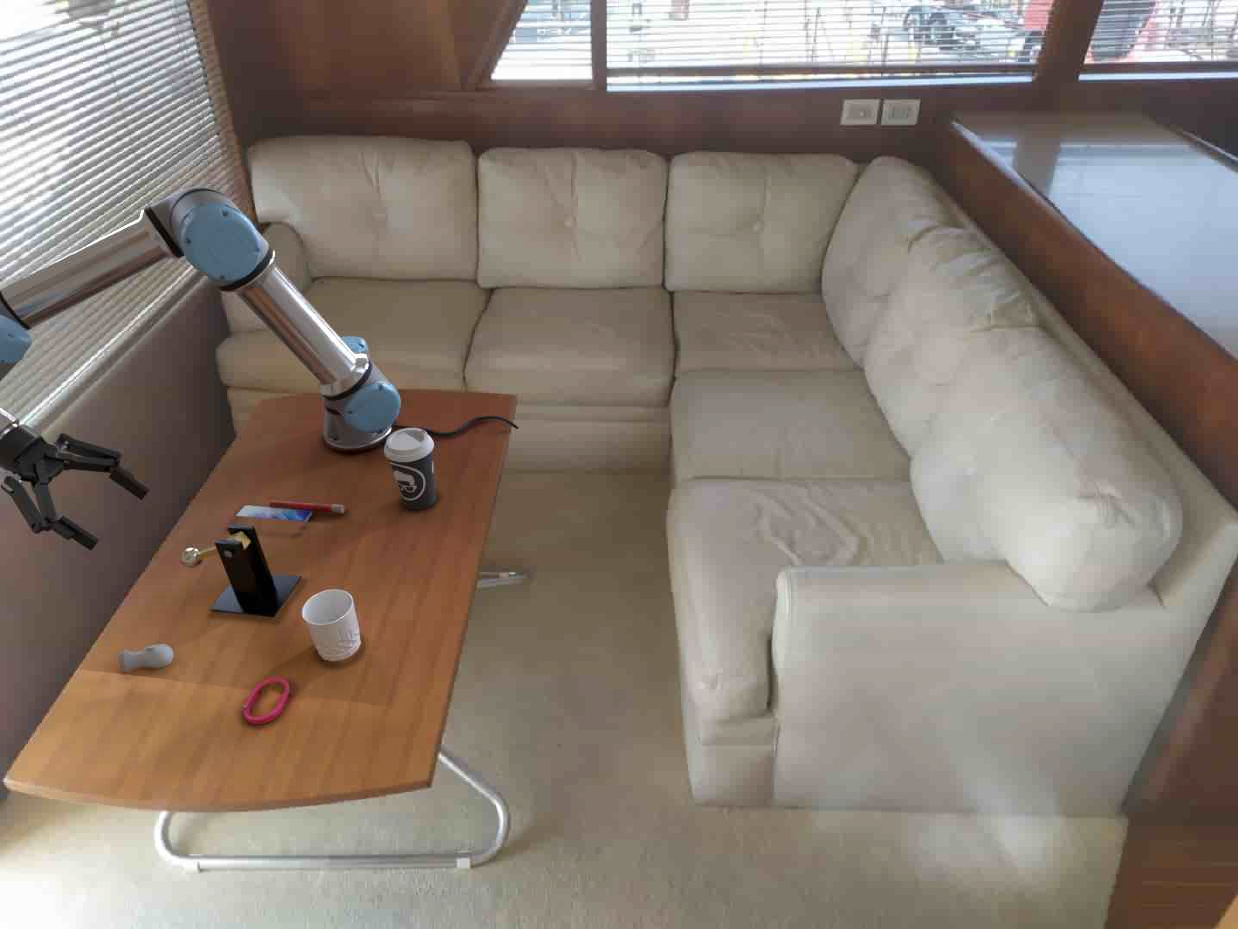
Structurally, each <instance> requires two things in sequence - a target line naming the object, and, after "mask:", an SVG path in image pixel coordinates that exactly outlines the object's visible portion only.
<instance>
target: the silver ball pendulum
mask: <svg viewBox="0 0 1238 929" xmlns="http://www.w3.org/2000/svg"><path fill="white" fill-rule="evenodd" d="M226 540H232V541H242V544H243V546H244V549H245V548H246V547H247V546H248V545H249V543H250V542H251V541H250V540H249V539H248V537H247V536H246V535H245V534H244V533H243V532H242V531H241V532H239V533H236V534H233V535H230V534H229V537H228V538H227V539H226ZM217 554H219V553H218V551H217V548H216V546H215V545H214V546H211V547H208V548H205V549H202V550H201V549H199V548H197V547H188V548H186V549H184V550H183V551H182V553H181V554H180V563H181V564H182V566H183V567H185V568H187V569H197V568H198V567H200V566H201V565H202V564H203V562H204V559H206V558H208V557H209V558H210V557H212V556H214V555H217Z"/></svg>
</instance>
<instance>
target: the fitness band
mask: <svg viewBox="0 0 1238 929" xmlns="http://www.w3.org/2000/svg"><path fill="white" fill-rule="evenodd" d="M274 682H275V683H276V682H278V683H281V684H283V686H284V692H283V694H282V696H281V697H280V699H279V700H278V702H277V703H276V705H275V707H274V708H273V709H272V710H271V711H270V712H268V713H266V714H264V715H261V716H252V715H251V714H250V713H251V709H252V707H253V706H254V704H255V702H256V701H257V700H258V699H259V697H260V695H261V694H262V692H263V691H262V690H261V688H263V687H264V686H266V685H267V684H270V683H274ZM289 692H290V684H289V682H288V681H287V680H286V679H284V678H282V677H271V678H270V677H269V678H267V679H264V680H263V681H261V682H260V683H258V684H257V685H256V686H255V687H254V688H253V689H252V691H251V692H250V693H249V695H248V696H247V698H246V699H245V701H244V703H243V704H242V709H243V715H244V718H245V720H246V721H247V722H248V723H250V724H253V725H263V724H267V723H270V722H271V721H273V720H275V719H276V718H277V717H279V715H280V714H281V713H282V711H283V710H284V708H285V707H286V705H287V704H288V702H289V700H290V697H291V695H292V693H289Z"/></svg>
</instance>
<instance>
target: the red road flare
mask: <svg viewBox="0 0 1238 929" xmlns="http://www.w3.org/2000/svg"><path fill="white" fill-rule="evenodd" d="M269 507H271V508H284V509H285V508H286V509H300V510H311V511H312V512H317V513H318V512H319V513H332V514H344V512H345V505H344V504H335V503H334V504H330V503H315V502H302V501H301V502H300V501H285V500H273V499H272V500H270V501H269Z"/></svg>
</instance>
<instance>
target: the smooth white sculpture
mask: <svg viewBox="0 0 1238 929" xmlns="http://www.w3.org/2000/svg"><path fill="white" fill-rule="evenodd" d="M174 656H175V654H174V651H173V649H172V648H171V646H170V645H168V644H166V643H157V644H150V645H148V646H145V647H143V648H142V649H140V650H139V651H130V650H129V649H126V648H125V649H123V650H122V651H120V652H119V653H118V662H119V667H120V670H121V671H122V672H123V673H127V674H129V673H131V672H132V671H135V670H138V669H147V668H148V669H154V670H155V669H156V670H157V669H163V668H166V667H168V666H169V665H170V664H171V663H172V661H173V659H174Z"/></svg>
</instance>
